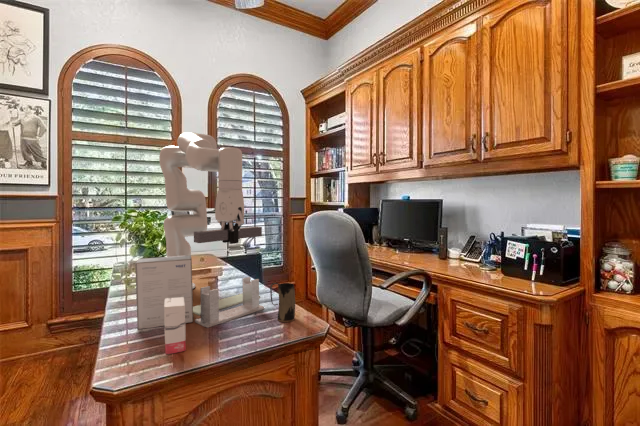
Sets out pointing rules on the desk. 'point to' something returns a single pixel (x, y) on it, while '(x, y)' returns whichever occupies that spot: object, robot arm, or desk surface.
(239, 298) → the mat
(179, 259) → the hard drive box
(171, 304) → the ink box
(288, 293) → the mug
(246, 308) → the rack
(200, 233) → the rail
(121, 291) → the desk surface
